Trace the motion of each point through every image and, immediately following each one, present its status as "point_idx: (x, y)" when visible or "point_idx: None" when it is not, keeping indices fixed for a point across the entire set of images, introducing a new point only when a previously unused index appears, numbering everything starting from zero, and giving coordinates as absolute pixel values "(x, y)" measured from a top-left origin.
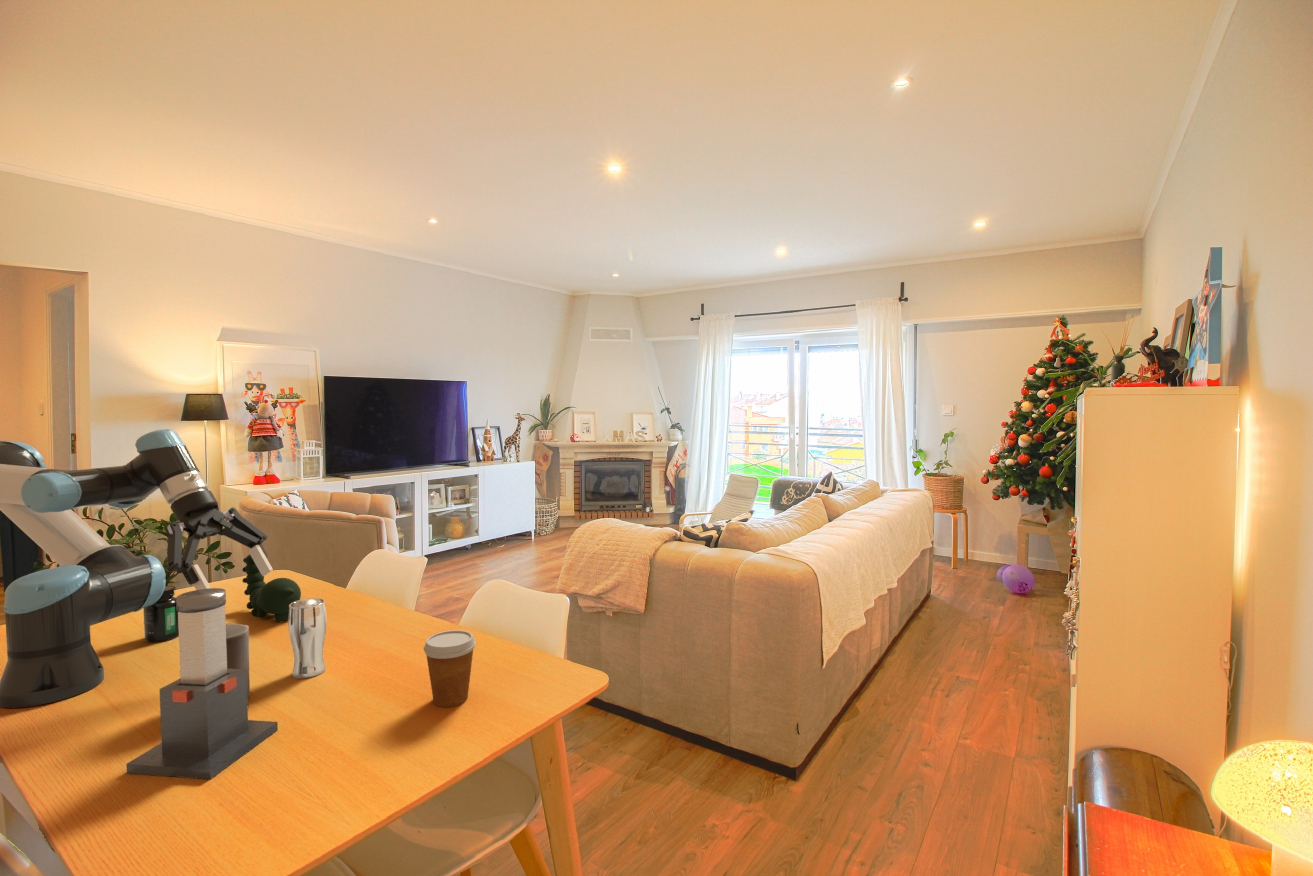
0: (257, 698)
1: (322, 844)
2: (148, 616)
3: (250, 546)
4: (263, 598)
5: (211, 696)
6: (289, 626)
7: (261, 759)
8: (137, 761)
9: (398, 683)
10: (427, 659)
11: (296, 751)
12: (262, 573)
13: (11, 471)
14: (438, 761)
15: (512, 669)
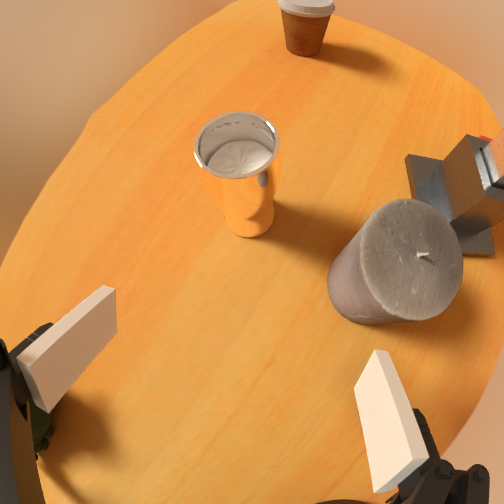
0: (344, 235)
1: (469, 84)
2: None
3: (26, 408)
4: (40, 424)
5: None
6: (273, 189)
7: (442, 148)
8: (491, 246)
9: (274, 91)
10: (322, 21)
11: (423, 126)
12: (112, 331)
13: None
14: (390, 45)
15: (231, 30)
